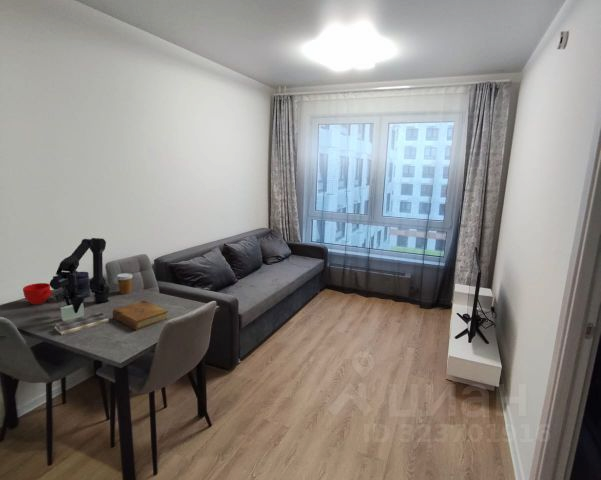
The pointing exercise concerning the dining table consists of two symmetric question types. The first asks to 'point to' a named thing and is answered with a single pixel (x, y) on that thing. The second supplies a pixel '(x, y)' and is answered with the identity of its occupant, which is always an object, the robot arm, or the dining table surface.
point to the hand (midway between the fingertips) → (72, 310)
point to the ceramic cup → (37, 293)
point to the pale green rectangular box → (71, 312)
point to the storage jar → (83, 284)
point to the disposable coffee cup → (124, 282)
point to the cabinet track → (81, 323)
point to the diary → (140, 315)
